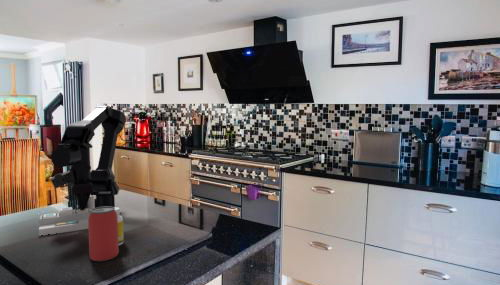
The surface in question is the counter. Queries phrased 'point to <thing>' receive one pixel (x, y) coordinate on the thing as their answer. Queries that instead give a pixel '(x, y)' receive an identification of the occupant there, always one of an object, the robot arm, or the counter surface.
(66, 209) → the key mid
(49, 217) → the key
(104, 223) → the beer can
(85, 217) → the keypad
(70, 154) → the robot arm
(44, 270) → the counter surface
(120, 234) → the supplement bottle
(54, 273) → the counter surface
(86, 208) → the key
